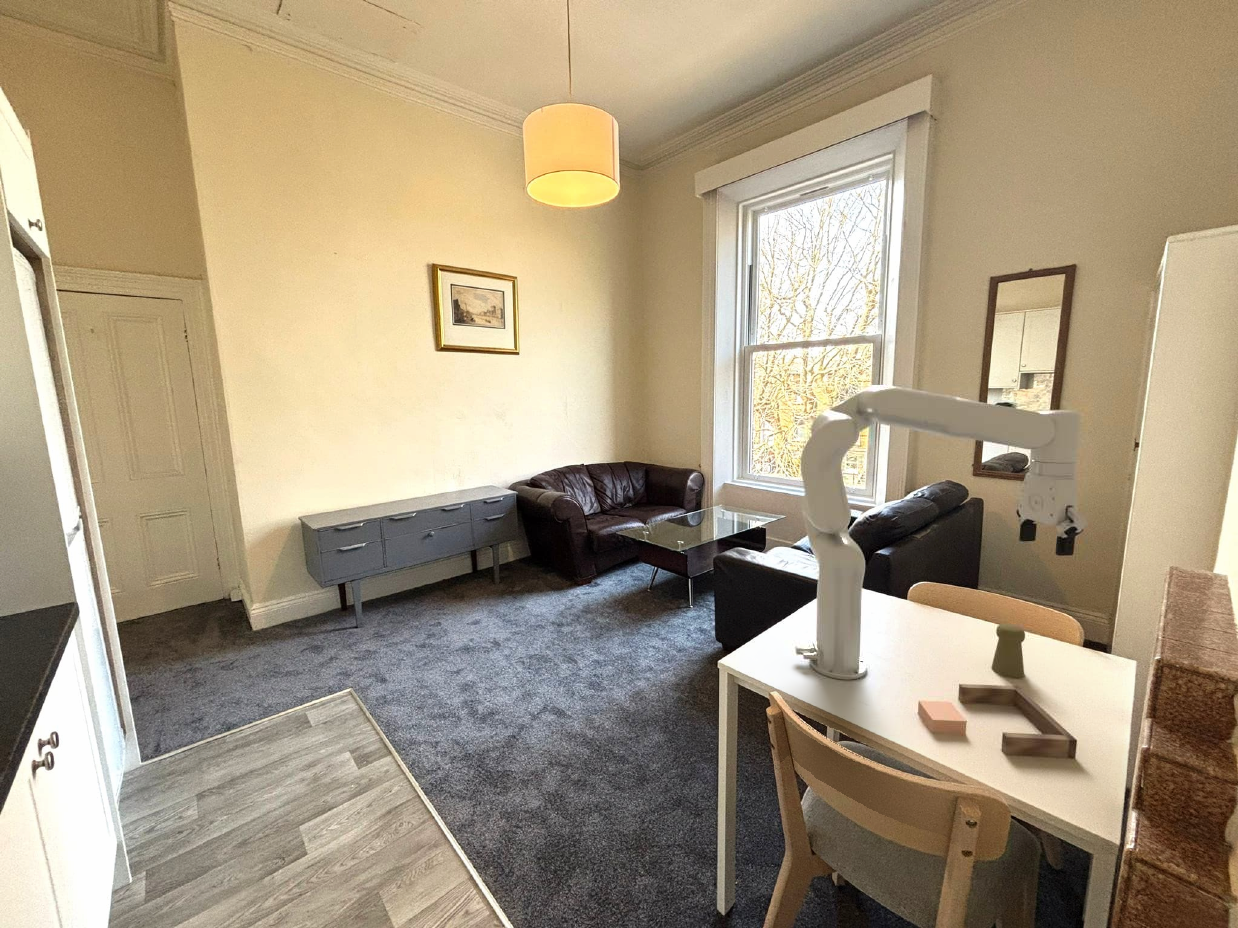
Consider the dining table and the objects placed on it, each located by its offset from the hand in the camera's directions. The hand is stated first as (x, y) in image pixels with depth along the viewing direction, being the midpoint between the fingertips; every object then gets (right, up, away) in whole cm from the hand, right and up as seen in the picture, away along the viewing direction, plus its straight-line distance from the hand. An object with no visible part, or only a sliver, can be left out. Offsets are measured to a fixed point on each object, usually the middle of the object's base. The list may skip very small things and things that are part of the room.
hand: (1044, 547), depth 110 cm
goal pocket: (-17, -33, -11) cm, 38 cm away
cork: (-3, -30, +7) cm, 30 cm away
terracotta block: (-28, -33, -10) cm, 45 cm away
